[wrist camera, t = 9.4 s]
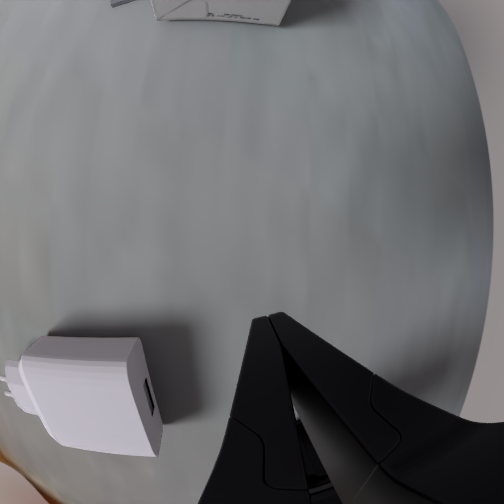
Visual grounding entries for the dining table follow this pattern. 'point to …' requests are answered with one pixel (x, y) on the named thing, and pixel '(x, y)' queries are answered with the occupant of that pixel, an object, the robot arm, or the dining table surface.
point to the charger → (89, 393)
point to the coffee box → (222, 10)
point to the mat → (119, 2)
